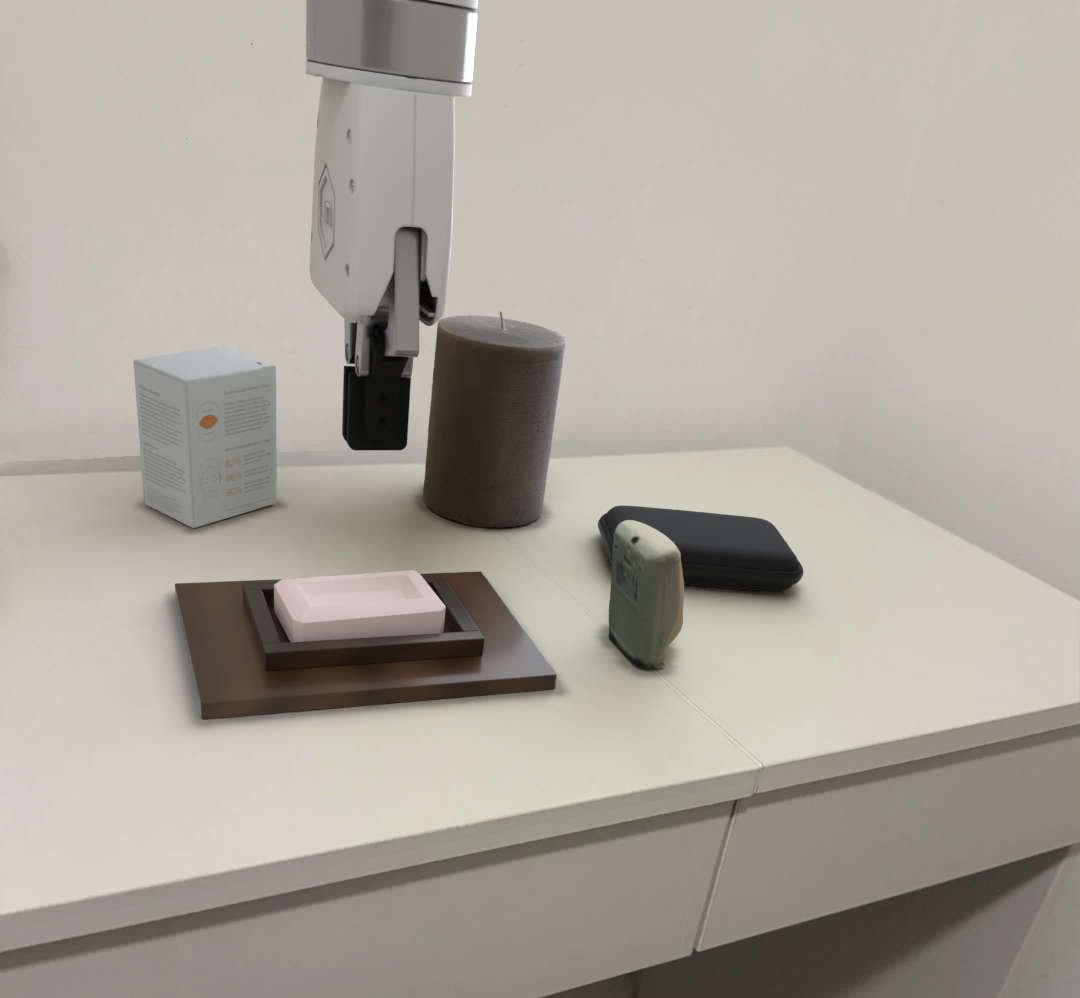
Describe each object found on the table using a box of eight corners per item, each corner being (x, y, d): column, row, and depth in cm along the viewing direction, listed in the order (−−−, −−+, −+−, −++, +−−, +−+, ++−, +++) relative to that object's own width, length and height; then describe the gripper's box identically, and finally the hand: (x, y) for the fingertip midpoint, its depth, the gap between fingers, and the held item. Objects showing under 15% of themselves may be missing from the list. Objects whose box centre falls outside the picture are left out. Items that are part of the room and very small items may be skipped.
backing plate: (201, 719, 55) (199, 683, 54) (175, 597, 66) (173, 565, 64) (554, 689, 62) (560, 657, 61) (479, 584, 73) (483, 555, 72)
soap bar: (272, 612, 64) (272, 575, 62) (415, 600, 67) (418, 565, 66) (294, 656, 60) (295, 617, 58) (445, 641, 64) (449, 604, 62)
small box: (229, 482, 82) (225, 343, 77) (279, 505, 80) (279, 363, 74) (141, 505, 77) (130, 357, 71) (191, 530, 74) (185, 379, 69)
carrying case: (765, 542, 87) (589, 526, 85) (774, 507, 85) (595, 490, 83) (804, 601, 78) (609, 585, 76) (815, 563, 76) (616, 546, 74)
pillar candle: (454, 533, 80) (474, 328, 72) (404, 486, 87) (416, 293, 79) (564, 523, 84) (594, 329, 77) (508, 479, 91) (530, 297, 83)
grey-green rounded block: (572, 645, 67) (592, 527, 63) (614, 620, 71) (636, 508, 67) (649, 679, 65) (675, 560, 61) (689, 651, 69) (716, 537, 65)
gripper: (278, 30, 52) (280, 402, 62) (344, 45, 41) (334, 498, 50) (425, 51, 55) (405, 404, 65) (526, 70, 43) (483, 495, 53)
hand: (374, 444), depth 57 cm, fingers closed
